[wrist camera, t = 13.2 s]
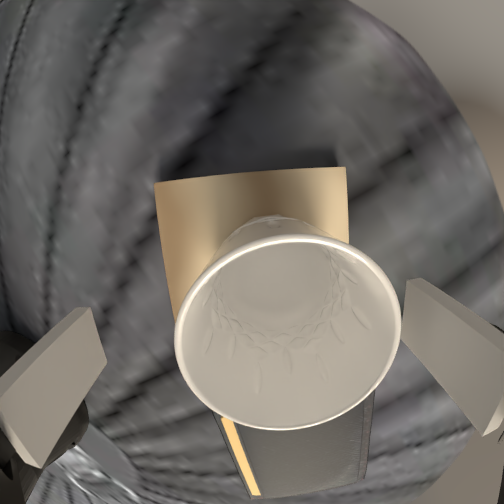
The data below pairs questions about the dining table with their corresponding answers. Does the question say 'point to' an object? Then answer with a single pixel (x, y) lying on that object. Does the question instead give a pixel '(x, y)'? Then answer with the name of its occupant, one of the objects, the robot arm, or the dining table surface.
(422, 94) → the dining table surface
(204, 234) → the oak coaster board
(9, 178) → the dining table surface
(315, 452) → the black book
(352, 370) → the white cup
